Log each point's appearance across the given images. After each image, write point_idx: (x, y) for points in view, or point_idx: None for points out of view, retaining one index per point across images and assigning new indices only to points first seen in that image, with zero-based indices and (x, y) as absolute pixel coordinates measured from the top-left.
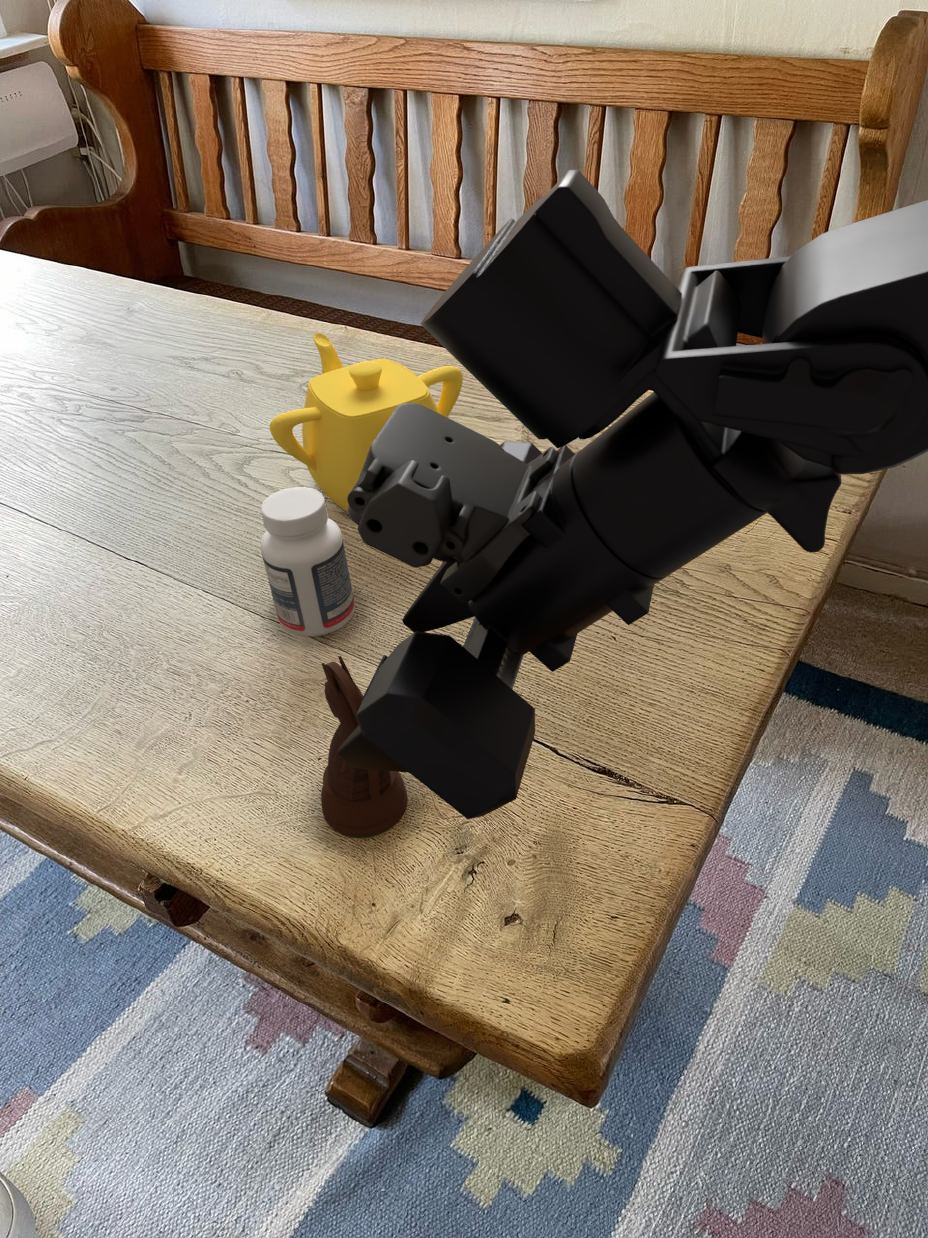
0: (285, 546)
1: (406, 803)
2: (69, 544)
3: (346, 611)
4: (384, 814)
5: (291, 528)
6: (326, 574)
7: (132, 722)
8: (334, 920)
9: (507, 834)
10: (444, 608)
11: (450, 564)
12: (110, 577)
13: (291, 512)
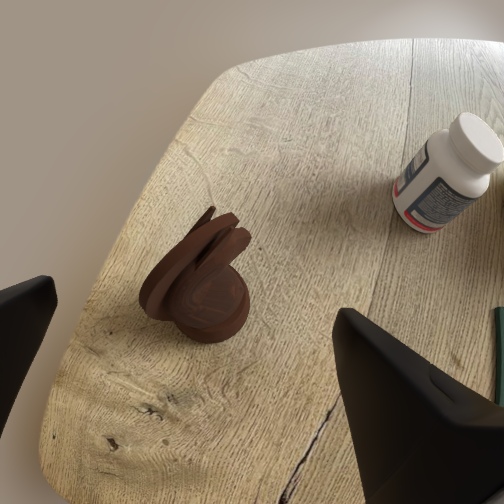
0: (445, 146)
1: (211, 342)
2: (404, 59)
3: (424, 226)
4: (180, 327)
5: (460, 140)
6: (440, 193)
7: (273, 110)
8: (96, 304)
9: (195, 437)
10: (357, 386)
11: (421, 407)
12: (392, 77)
13: (473, 135)
